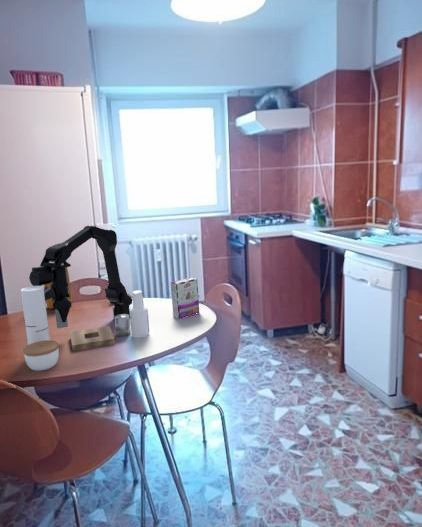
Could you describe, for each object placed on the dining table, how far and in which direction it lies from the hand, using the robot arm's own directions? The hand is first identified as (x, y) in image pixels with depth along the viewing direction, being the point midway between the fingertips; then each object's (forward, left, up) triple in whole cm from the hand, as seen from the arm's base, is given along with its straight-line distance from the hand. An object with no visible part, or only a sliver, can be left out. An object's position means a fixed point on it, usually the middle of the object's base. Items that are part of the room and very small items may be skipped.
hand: (64, 320), depth 161 cm
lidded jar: (+8, +22, -9) cm, 25 cm away
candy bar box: (-50, -7, -9) cm, 51 cm away
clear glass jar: (-21, +4, -8) cm, 23 cm away
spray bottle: (-27, +8, -9) cm, 30 cm away
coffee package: (+2, -54, -9) cm, 55 cm away
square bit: (+1, 0, -2) cm, 2 cm away
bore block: (-9, +6, -8) cm, 14 cm away
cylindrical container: (+9, +12, -9) cm, 17 cm away
